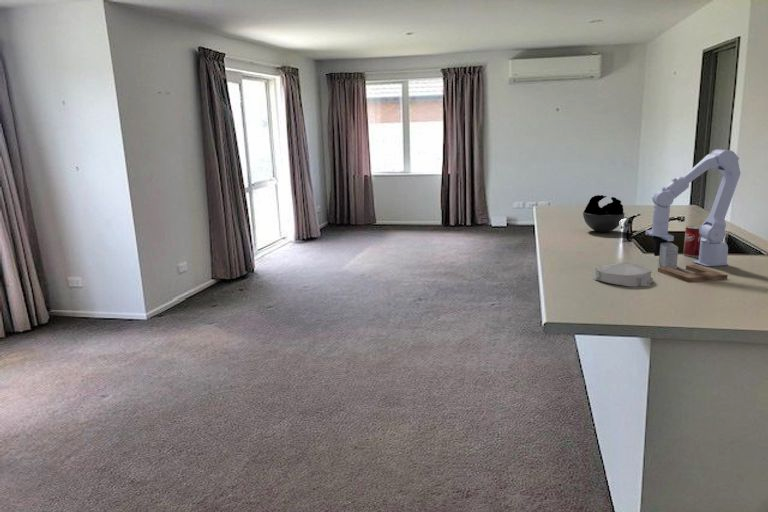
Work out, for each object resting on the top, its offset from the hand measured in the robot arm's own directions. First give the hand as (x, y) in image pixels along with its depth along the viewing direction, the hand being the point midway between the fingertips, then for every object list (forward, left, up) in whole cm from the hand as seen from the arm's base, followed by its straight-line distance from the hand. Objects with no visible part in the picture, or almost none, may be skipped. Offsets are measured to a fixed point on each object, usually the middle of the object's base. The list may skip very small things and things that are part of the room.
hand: (657, 255), depth 229 cm
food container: (+27, +18, -4) cm, 33 cm away
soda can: (-23, -9, -3) cm, 25 cm away
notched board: (0, +19, -3) cm, 20 cm away
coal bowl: (-18, -69, -3) cm, 71 cm away
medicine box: (0, +6, -3) cm, 7 cm away
